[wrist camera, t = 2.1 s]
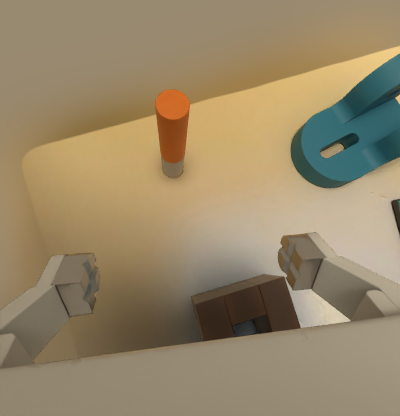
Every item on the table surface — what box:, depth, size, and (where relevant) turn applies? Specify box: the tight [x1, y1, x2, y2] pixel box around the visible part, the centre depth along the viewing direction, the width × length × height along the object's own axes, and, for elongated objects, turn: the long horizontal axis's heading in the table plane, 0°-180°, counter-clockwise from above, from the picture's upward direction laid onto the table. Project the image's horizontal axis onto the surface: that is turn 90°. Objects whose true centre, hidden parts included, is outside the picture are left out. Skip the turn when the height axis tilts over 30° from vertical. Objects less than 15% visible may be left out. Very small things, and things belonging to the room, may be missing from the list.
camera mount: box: [291, 54, 400, 188], centre depth 32 cm, size 18×10×10 cm, turn 119°
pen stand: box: [191, 274, 301, 342], centre depth 27 cm, size 10×17×6 cm, turn 15°
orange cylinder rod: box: [155, 90, 190, 178], centre depth 27 cm, size 3×3×14 cm
